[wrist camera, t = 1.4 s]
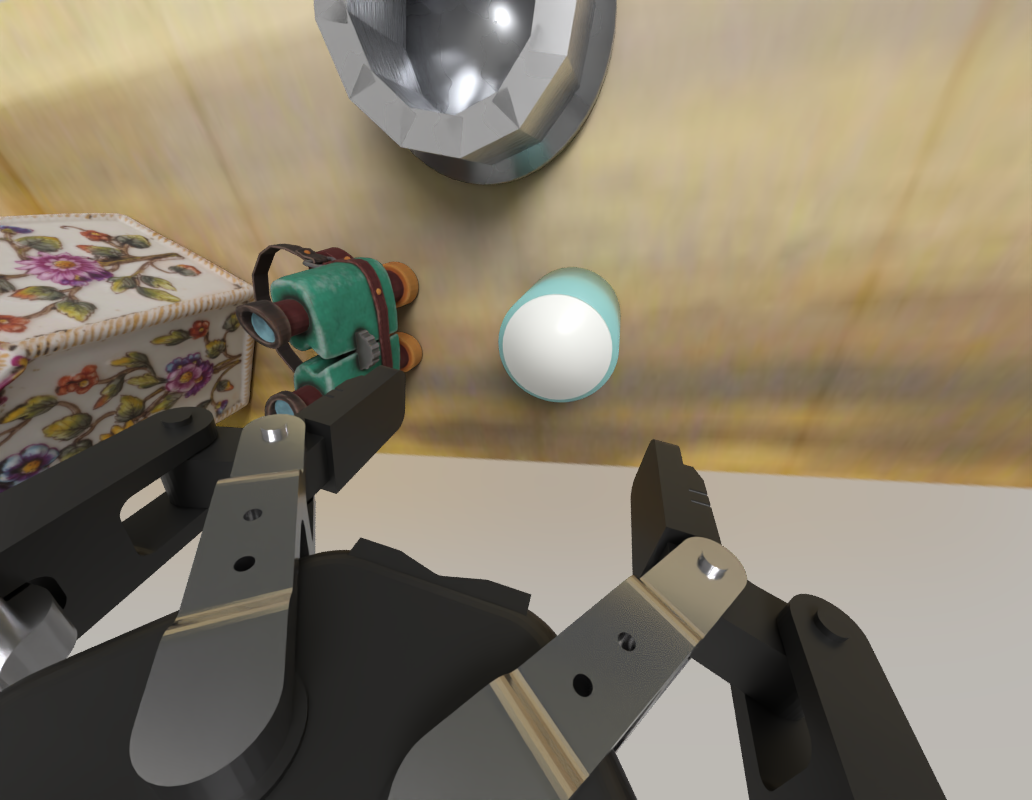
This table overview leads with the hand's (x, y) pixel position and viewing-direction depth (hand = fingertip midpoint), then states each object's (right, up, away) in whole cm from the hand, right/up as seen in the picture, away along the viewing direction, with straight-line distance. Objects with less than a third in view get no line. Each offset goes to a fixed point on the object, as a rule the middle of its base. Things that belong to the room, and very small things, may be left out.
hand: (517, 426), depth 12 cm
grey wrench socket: (-2, +18, +6) cm, 19 cm away
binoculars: (-11, +7, +14) cm, 19 cm away
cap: (+3, +6, +11) cm, 13 cm away
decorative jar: (-26, +8, +18) cm, 32 cm away
